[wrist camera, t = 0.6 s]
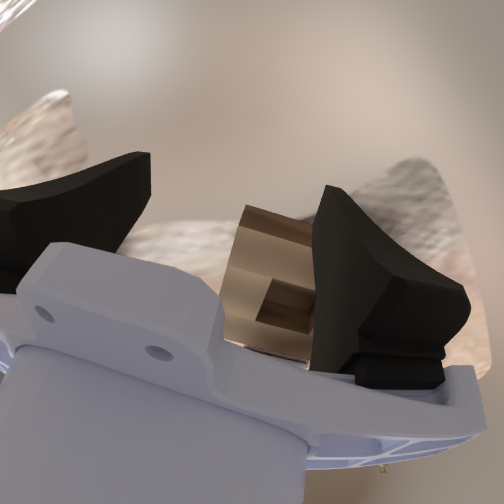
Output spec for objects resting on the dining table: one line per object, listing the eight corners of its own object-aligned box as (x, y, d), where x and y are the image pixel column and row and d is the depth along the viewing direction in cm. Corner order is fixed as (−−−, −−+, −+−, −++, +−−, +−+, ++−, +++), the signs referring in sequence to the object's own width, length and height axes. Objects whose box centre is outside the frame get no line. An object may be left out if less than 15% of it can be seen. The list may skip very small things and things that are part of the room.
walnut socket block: (325, 337, 30) (327, 363, 27) (216, 308, 30) (208, 333, 27) (381, 248, 23) (391, 273, 21) (245, 204, 23) (238, 225, 20)
